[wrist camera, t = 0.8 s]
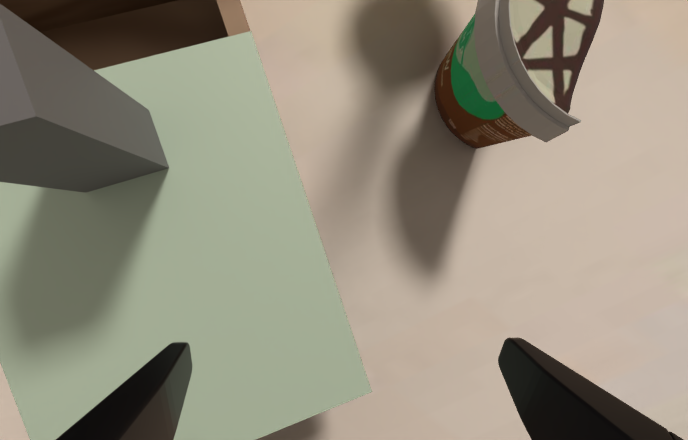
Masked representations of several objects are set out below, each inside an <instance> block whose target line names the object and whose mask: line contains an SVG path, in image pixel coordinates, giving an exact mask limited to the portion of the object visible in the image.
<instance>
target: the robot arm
mask: <svg viewBox="0 0 688 440" xmlns="http://www.w3.org/2000/svg"><path fill="white" fill-rule="evenodd" d="M498 363H499V367H500V370H501V372H502V375H503V377H504V379H505V382H506V384H507V387H508V389H509V391H510V394H511V396H512V399H513V401H514V404H515V406H516V408H517V411H518V413H519V415H520V417H521V420H522V422H523V424H524V426H525V428H526V430H527V432H528V434H529V435H530V437H531V439H532V440H683V439H682V438H680V437H679V436H677V435H675V434H674V433H672V432H668V430H667V429H666V428H664V427H662V426H661V425H659V424H658V423H656V422H654V421H653V420H651V419H650V418H648V417H646V416H645V415H643V414H642V413H640V412H639V411H637V410H635V409H634V408H632V407H631V406H629V405H627V404H626V403H624V402H623V401H621V400H619V399H618V398H616V397H615V396H613V395H611V394H610V393H608V392H607V391H605V390H603V389H602V388H600V387H599V386H597V385H595V384H594V383H592V382H591V381H589V380H587V379H586V378H584V377H583V376H581V375H579V374H578V373H576V372H575V371H573V370H571V369H570V368H568V367H567V366H565V365H563V364H562V363H560V362H559V361H557V360H555V359H554V358H552V357H551V356H549V355H547V354H546V353H544V352H543V351H541V350H539V349H538V348H536V347H535V346H533V345H531V344H530V343H528V342H527V341H525V340H524V339H522V338H507V339H506V340H505V341H504V344H503V347H502V350H501V352H500V355H499V358H498ZM191 374H192V359H191V351H190V345H189V343H187V342H173V343H171V344H169V345H168V346H167V347H165V348H164V349H163V350H162V351H161V352H159V353H158V354H157V355H156V356H155V357H153V358H152V359H151V360H150V361H149V362H147V363H146V364H145V365H144V366H143V367H142V368H140V369H139V370H138V371H137V372H136V373H134V374H133V375H132V376H131V377H130V378H128V379H127V380H126V381H125V382H124V383H122V384H121V385H120V386H119V387H118V388H116V389H115V390H114V391H113V392H112V393H110V394H109V395H108V396H107V397H106V398H105V399H103V400H102V401H101V402H100V403H99V404H97V405H96V406H95V407H94V408H93V409H91V410H90V411H89V412H88V413H87V414H85V415H84V416H83V417H82V418H81V419H79V420H78V421H77V422H76V423H75V424H73V425H72V426H71V427H70V428H69V429H68V430H66V431H65V432H64V433H63V434H62V435H60V436H59V437H58V438H57V439H56V440H173V439H174V436H175V433H176V430H177V426H178V423H179V419H180V415H181V411H182V408H183V404H184V400H185V396H186V393H187V389H188V385H189V382H190V378H191Z"/></svg>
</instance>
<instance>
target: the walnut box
mask: <svg viewBox="0 0 688 440" xmlns="http://www.w3.org/2000/svg"><path fill="white" fill-rule="evenodd" d="M0 4H1V5H3V6H4V7H6V8H7V9H8V10H10V11H11V12H13V13H14V14H15V15H17V16H18V17H20V18H21V19H22V20H24V21H25V22H27V23H28V24H29V25H31V26H32V27H34V28H35V29H36V30H38V31H39V32H40V33H42V34H43V35H45V36H46V37H47V38H49V39H50V40H52V41H53V42H54V43H56V44H57V45H59V46H60V47H61V48H63V49H64V50H66V51H67V52H68V53H70V54H71V55H73V56H74V57H75V58H77V59H78V60H80V61H81V62H82V63H84V64H85V65H87V66H88V67H89V68H91V69H92V70H98V69H102V68H106V67H110V66H114V65H118V64H122V63H126V62H130V61H134V60H138V59H142V58H146V57H150V56H154V55H157V54H161V53H165V52H169V51H173V50H177V49H181V48H185V47H189V46H193V45H197V44H201V43H205V42H209V41H213V40H217V39H221V38H225V37H229V36H233V35H237V34H241V33H245V32H249V31H250V29H249V26H248V23H247V20H246V17H245V14H244V11H243V8H242V5H241V2H240V0H0Z"/></svg>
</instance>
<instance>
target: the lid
mask: <svg viewBox="0 0 688 440" xmlns="http://www.w3.org/2000/svg"><path fill="white" fill-rule="evenodd" d="M173 342H187V343H189V345H190V351H191V359H192V374H191V378H190V382H189V385H188V389H187V393H186V396H185V400H184V404H183V408H182V411H181V415H180V419H179V423H178V426H177V430H176V433H175V436H174V439H173V440H256V439H259V438H261V437H263V436H266V435H268V434H271V433H273V432H276V431H278V430H281V429H283V428H285V427H288V426H290V425H293V424H295V423H298V422H300V421H302V420H305V419H307V418H310V417H312V416H315V415H317V414H319V413H322V412H324V411H327V410H329V409H332V408H334V407H336V406H339V405H341V404H344V403H346V402H349V401H351V400H353V399H356V398H358V397H361V396H363V395H366V394H368V393H371V392H372V390H371V387H370V384H369V381H368V378H367V375H366V372H365V369H364V366H363V363H362V360H361V357H360V354H359V351H358V348H357V346H356V343H355V340H354V337H353V334H352V331H351V328H350V325H349V322H348V319H347V316H346V313H345V310H344V307H343V304H342V301H341V298H340V295H339V292H338V289H337V286H336V283H335V280H334V277H333V274H332V271H331V268H330V265H329V262H328V259H327V256H326V253H325V250H324V247H323V244H322V241H321V238H320V235H319V232H318V229H317V226H316V223H315V220H314V217H313V214H312V211H311V208H310V205H309V202H308V199H307V196H306V193H305V190H304V188H303V185H302V182H301V179H300V176H299V173H298V170H297V167H296V164H295V161H294V158H293V155H292V152H291V149H290V146H289V143H288V140H287V137H286V134H285V131H284V128H283V125H282V122H281V119H280V116H279V113H278V110H277V107H276V104H275V101H274V98H273V95H272V92H271V89H270V86H269V83H268V80H267V77H266V74H265V71H264V68H263V65H262V62H261V59H260V56H259V53H258V50H257V47H256V44H255V41H254V38H253V35H252V32H251V31H249V32H245V33H241V34H237V35H233V36H229V37H225V38H221V39H217V40H213V41H209V42H205V43H201V44H197V45H193V46H189V47H185V48H181V49H177V50H173V51H169V52H165V53H161V54H157V55H154V56H150V57H146V58H142V59H138V60H134V61H130V62H126V63H122V64H118V65H114V66H110V67H106V68H102V69H98V70H92V69H91V68H89V67H88V66H87V65H85V64H84V63H82V62H81V61H80V60H78V59H77V58H75V57H74V56H73V55H71V54H70V53H68V52H67V51H66V50H64V49H63V48H61V47H60V46H59V45H57V44H56V43H54V42H53V41H52V40H50V39H49V38H47V37H46V36H45V35H43V34H42V33H40V32H39V31H38V30H36V29H35V28H34V27H32V26H31V25H29V24H28V23H27V22H25V21H24V20H22V19H21V18H20V17H18V16H17V15H15V14H14V13H13V12H11V11H10V10H8V9H7V8H6V7H4V6H3V5H1V4H0V363H1V366H2V368H3V371H4V373H5V376H6V379H7V381H8V384H9V386H10V389H11V392H12V394H13V397H14V399H15V402H16V404H17V407H18V410H19V412H20V415H21V417H22V420H23V423H24V425H25V428H26V430H27V433H28V436H29V438H30V440H56V439H57V438H58V437H59V436H60V435H62V434H63V433H64V432H65V431H66V430H68V429H69V428H70V427H71V426H72V425H73V424H75V423H76V422H77V421H78V420H79V419H81V418H82V417H83V416H84V415H85V414H87V413H88V412H89V411H90V410H91V409H93V408H94V407H95V406H96V405H97V404H99V403H100V402H101V401H102V400H103V399H105V398H106V397H107V396H108V395H109V394H110V393H112V392H113V391H114V390H115V389H116V388H118V387H119V386H120V385H121V384H122V383H124V382H125V381H126V380H127V379H128V378H130V377H131V376H132V375H133V374H134V373H136V372H137V371H138V370H139V369H140V368H142V367H143V366H144V365H145V364H146V363H147V362H149V361H150V360H151V359H152V358H153V357H155V356H156V355H157V354H158V353H159V352H161V351H162V350H163V349H164V348H165V347H167V346H168V345H169V344H171V343H173Z"/></svg>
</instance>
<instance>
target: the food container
mask: <svg viewBox="0 0 688 440" xmlns="http://www.w3.org/2000/svg"><path fill="white" fill-rule="evenodd" d="M603 4H604V0H478V3H477V8H476V12H475V15H474V16H473V17H472V19H471V20H470V22H469V23H468V25H467V26H466V28H465V29H464V30H463V32H462V33H461V35H460V36H459V38H458V39H457V40H456V42H455V43H454V45H453V46H452V48H451V49H450V51H449V52H448V53H447V55H446V56H445V58H444V59H443V61H442V62H441V64H440V67H439V69H438V71H437V76H436V80H435V99H436V103H437V107H438V110H439V113H440V115H441V117H442V119H443V121H444V122H445V124H446V126H447V127H448V128H449V129H450V131H451V132H452V133H453V134H454V135H455V136H456V137H457V138H458V139H460V140H461V141H463V142H464V143H466V144H467V145H469V146H471V147H474V148H476V149H477V148H481V147H486V146H490V145H494V144H498V143H502V142H506V141H510V140H515V139H519V138H523V137H527V136H531V135H532V136H534V137H536V138H538V139H540V140H542V141H544V142H548V141H550V140H551V139H553V138H555V137H557V136H559V135H561V134H563V133H565V132H567V131H568V130H569V127H570V126H572V125H575V124H577V123H580V122H581V120H579V119H577V118H575V117H573V116H571V115H569V114H568V112H569V110H570V104H571V99H572V95H573V91H574V88H575V85H576V82H577V79H578V76H579V73H580V70H581V67H582V65H583V62H584V60H585V57H586V55H587V53H588V50H589V48H590V45H591V43H592V41H593V38H594V35H595V33H596V30H597V28H598V25H599V22H600V19H601V14H602V9H603Z"/></svg>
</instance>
